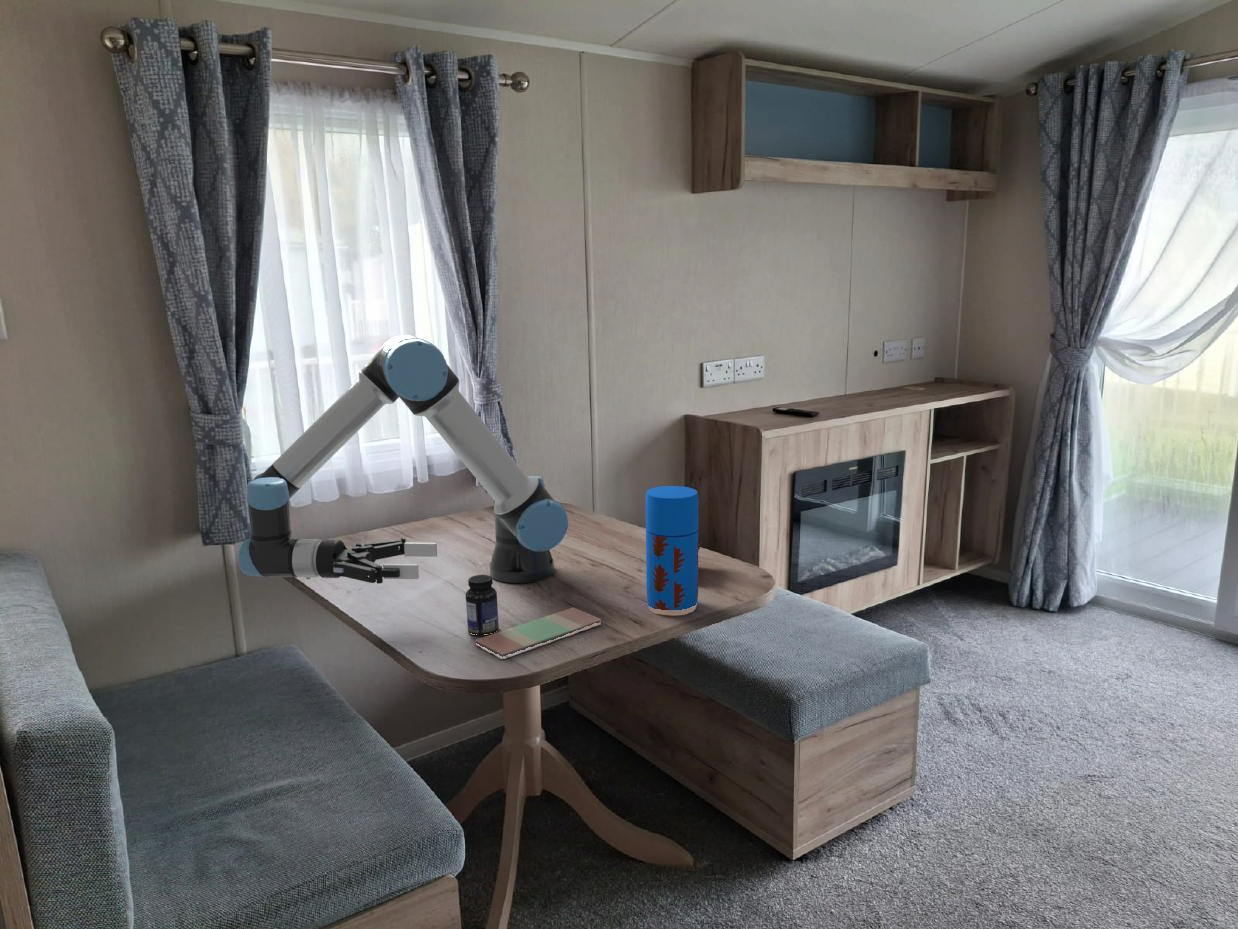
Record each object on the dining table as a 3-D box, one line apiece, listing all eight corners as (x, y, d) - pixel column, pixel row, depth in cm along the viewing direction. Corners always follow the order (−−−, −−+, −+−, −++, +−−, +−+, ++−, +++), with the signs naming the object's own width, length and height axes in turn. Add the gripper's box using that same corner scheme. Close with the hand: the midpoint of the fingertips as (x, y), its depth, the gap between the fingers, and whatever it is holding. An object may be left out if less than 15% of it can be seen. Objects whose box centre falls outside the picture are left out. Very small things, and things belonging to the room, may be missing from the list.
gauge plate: (475, 645, 172) (475, 639, 172) (573, 612, 187) (573, 607, 187) (502, 660, 165) (502, 654, 165) (601, 624, 181) (601, 619, 181)
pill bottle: (500, 624, 182) (497, 572, 180) (497, 636, 176) (494, 583, 174) (469, 625, 182) (466, 573, 179) (465, 637, 176) (462, 584, 173)
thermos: (667, 594, 197) (666, 483, 192) (707, 605, 190) (708, 490, 185) (636, 609, 189) (634, 493, 184) (677, 621, 182) (677, 501, 177)
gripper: (345, 557, 190) (444, 558, 189) (296, 599, 166) (410, 601, 165) (342, 522, 189) (442, 524, 187) (293, 560, 164) (408, 562, 163)
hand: (427, 560), depth 176 cm, fingers open, 13 cm apart
